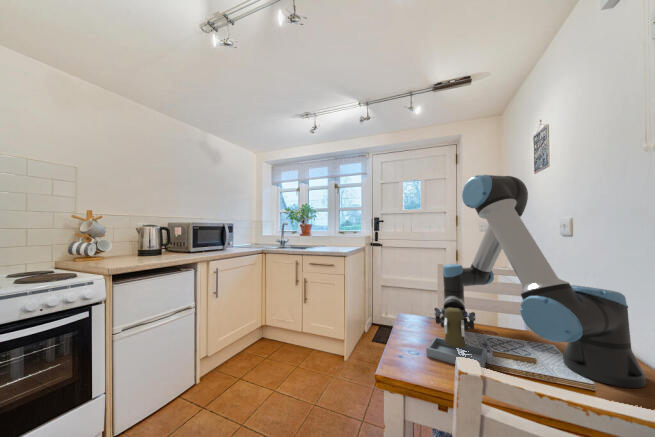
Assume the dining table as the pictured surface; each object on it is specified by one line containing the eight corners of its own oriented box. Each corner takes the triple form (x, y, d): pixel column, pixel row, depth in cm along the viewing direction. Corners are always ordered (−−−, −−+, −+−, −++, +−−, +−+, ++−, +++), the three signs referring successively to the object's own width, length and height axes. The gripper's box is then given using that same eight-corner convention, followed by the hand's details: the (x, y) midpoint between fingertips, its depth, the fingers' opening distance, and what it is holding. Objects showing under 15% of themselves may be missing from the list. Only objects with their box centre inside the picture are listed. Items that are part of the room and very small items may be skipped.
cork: (470, 345, 77) (468, 310, 77) (456, 349, 74) (454, 312, 75) (454, 337, 82) (452, 304, 83) (440, 341, 80) (439, 307, 81)
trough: (487, 356, 77) (486, 348, 77) (483, 372, 69) (483, 362, 69) (435, 344, 87) (434, 336, 87) (426, 356, 78) (426, 348, 78)
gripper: (480, 321, 90) (488, 348, 70) (431, 315, 98) (424, 337, 78) (479, 301, 91) (486, 322, 70) (430, 296, 99) (423, 314, 78)
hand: (454, 330), depth 74 cm, fingers closed on cork, 4 cm apart
